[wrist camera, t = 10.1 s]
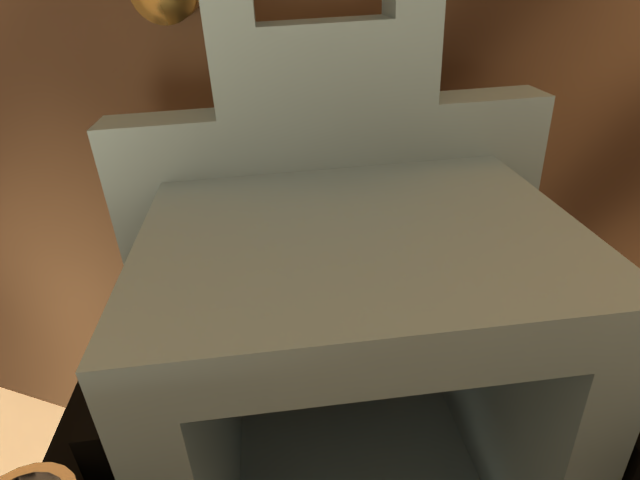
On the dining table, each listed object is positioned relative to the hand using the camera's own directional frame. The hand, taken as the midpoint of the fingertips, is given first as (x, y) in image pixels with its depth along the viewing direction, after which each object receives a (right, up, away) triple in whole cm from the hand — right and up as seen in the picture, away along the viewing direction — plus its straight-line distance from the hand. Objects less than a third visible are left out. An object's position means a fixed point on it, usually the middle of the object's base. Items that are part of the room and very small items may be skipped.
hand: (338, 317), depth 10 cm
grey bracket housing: (0, +3, 0) cm, 3 cm away
